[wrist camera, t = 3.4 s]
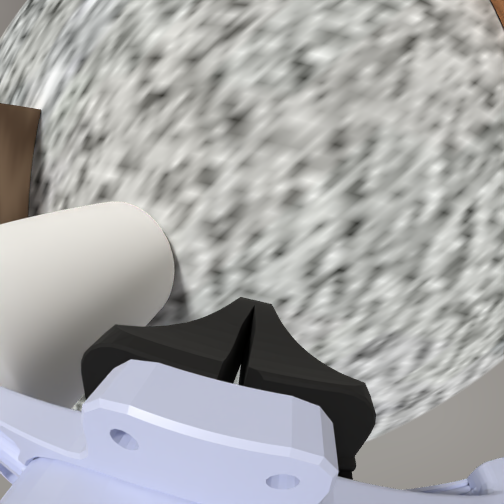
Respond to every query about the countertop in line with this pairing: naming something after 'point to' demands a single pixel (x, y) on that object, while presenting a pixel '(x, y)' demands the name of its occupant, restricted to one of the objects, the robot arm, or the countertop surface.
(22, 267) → the can
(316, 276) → the countertop surface
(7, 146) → the rail
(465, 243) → the countertop surface
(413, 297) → the countertop surface
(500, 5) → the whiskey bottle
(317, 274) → the countertop surface
